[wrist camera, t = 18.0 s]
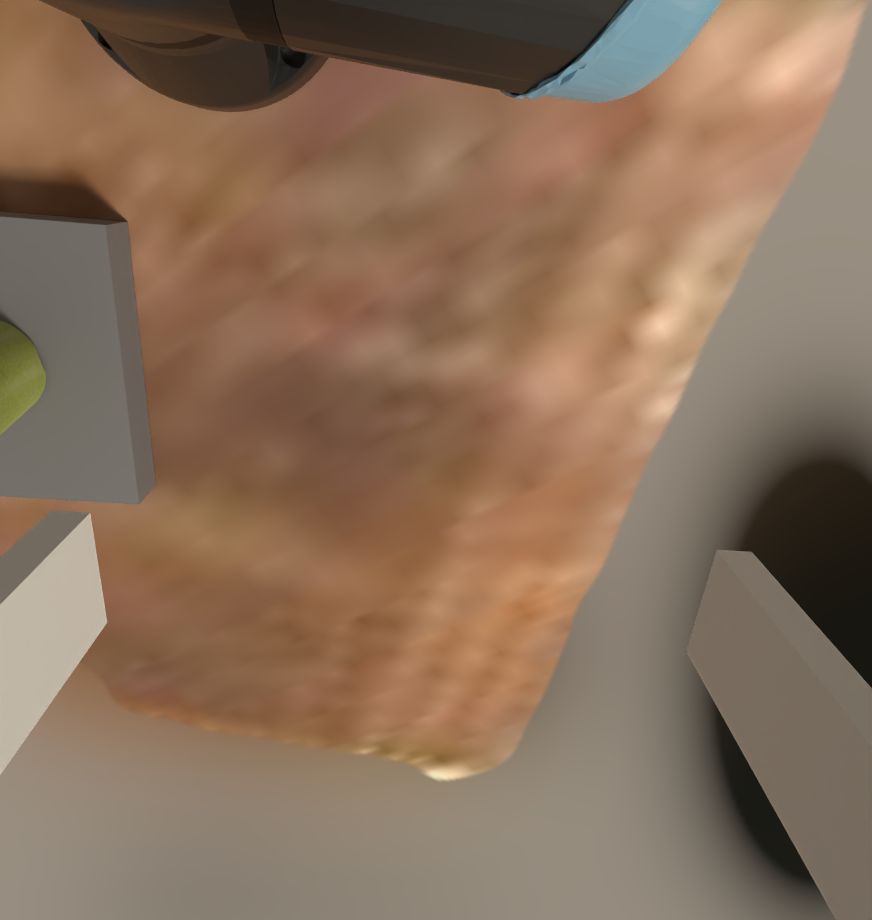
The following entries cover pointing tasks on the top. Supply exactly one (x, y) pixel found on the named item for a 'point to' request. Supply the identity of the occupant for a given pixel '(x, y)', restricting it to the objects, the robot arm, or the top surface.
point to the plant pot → (18, 375)
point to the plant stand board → (76, 361)
